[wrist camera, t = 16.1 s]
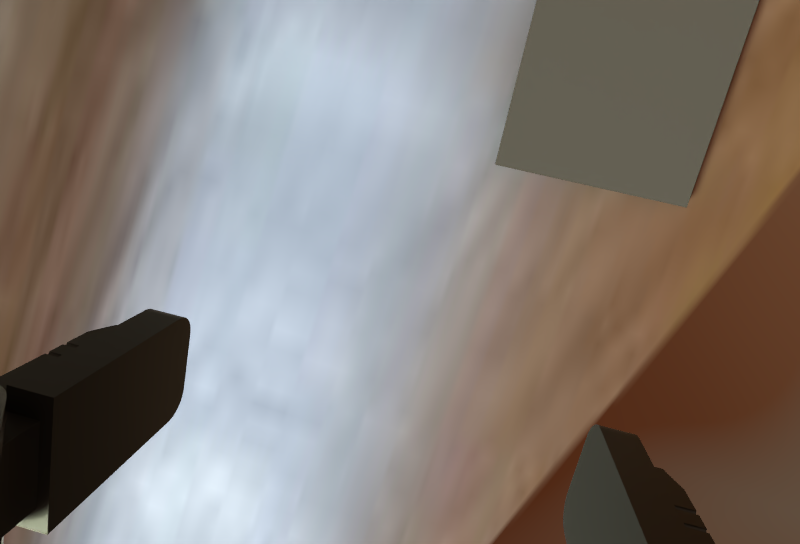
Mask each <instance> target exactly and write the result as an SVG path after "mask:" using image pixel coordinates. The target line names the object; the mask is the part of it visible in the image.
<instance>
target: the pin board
mask: <svg viewBox="0 0 800 544" xmlns="http://www.w3.org/2000/svg"><path fill="white" fill-rule="evenodd" d="M758 3H759V0H537V2H536V6H535V10H534V14H533V18H532V22H531V25H530V29H529V33H528V37H527V41H526V45H525V49H524V53H523V57H522V61H521V65H520V69H519V73H518V77H517V80H516V84H515V88H514V92H513V96H512V100H511V104H510V108H509V112H508V116H507V120H506V124H505V128H504V132H503V136H502V139H501V143H500V147H499V151H498V155H497V159H496V163H495V164H496V165H500V166H504V167H509V168H513V169H517V170H522V171H526V172H531V173H535V174H540V175H544V176H549V177H553V178H558V179H562V180H566V181H571V182H575V183H580V184H584V185H589V186H593V187H598V188H602V189H606V190H611V191H615V192H620V193H624V194H629V195H633V196H638V197H642V198H647V199H651V200H655V201H660V202H664V203H669V204H673V205H678V206H682V207H687V205H688V202H689V199H690V197H691V194H692V191H693V188H694V185H695V182H696V179H697V177H698V174H699V171H700V168H701V165H702V162H703V159H704V157H705V154H706V151H707V148H708V145H709V142H710V140H711V137H712V134H713V131H714V128H715V125H716V122H717V120H718V117H719V114H720V111H721V108H722V105H723V102H724V100H725V97H726V94H727V91H728V88H729V85H730V82H731V80H732V77H733V74H734V71H735V68H736V65H737V63H738V60H739V57H740V54H741V51H742V48H743V45H744V43H745V40H746V37H747V34H748V31H749V28H750V25H751V23H752V20H753V17H754V14H755V11H756V8H757V5H758Z"/></svg>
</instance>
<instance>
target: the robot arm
mask: <svg viewBox="0 0 800 544" xmlns="http://www.w3.org/2000/svg"><path fill="white" fill-rule="evenodd" d="M189 339H190V323H189V320H188V319H187V318H184V317H180V316H176V315H173V314H169V313H165V312H161V311H157V310H153V309H147V310H145V311H143V312H141V313H139V314H137V315H136V316H134V317H132V318H130V319H128V320H126V321H124V322H123V323H121V324H119V325H114V326H110V327H106V328H101V329H97V330H93V331H89V332H86V333H84V334H82V335H81V336H79V337H77V338H75V339H73V340H71V341H69V342H67V344H66V345H61V346H59V347H57V348H55V349H53V350H51V351H49V354H43V355H41V356H40V357H38V358H36V359H34V360H32V361H30V362H28V363H26V364H24V365H22V366H20V367H18V368H16V369H14V370H12V371H10V372H8V373H6V374H4V375H2V376H0V544H3V536H4V535H5V534H7V533H8V532H9V531H10V530H11V529H12V528H14V527H15V526H19V527H23V528H26V529H30V530H33V531H36V532H40V533H43V534H46V535H48V534H49V533H50V532H51V531H52V530H53V529H54V528H55V527H56V526H57V525H58V524H59V523H60V522H62V521H63V520H64V519H65V518H66V517H67V516H68V515H69V514H70V513H71V512H72V511H73V510H74V509H75V508H76V507H78V506H79V505H80V504H81V503H82V502H83V501H84V500H85V499H86V498H87V497H88V496H89V495H90V494H91V493H93V492H94V491H95V490H96V489H97V488H98V487H99V486H100V485H101V484H102V483H103V482H104V481H105V480H106V479H108V478H109V477H110V476H111V475H112V474H113V473H114V472H115V471H116V470H117V469H118V468H119V467H120V466H121V465H123V464H124V463H125V462H126V461H127V460H128V459H129V458H130V457H131V456H132V455H133V454H134V453H135V452H136V451H137V450H139V449H140V448H141V447H142V446H143V445H144V444H145V443H146V442H147V441H148V440H149V439H150V438H151V437H152V436H154V435H155V434H156V433H157V432H158V431H159V430H160V429H161V428H162V427H163V426H164V425H165V424H166V423H167V422H168V421H169V420H170V419H171V418H172V417H173V415H174V414H175V412H176V410H177V408H178V406H179V404H180V401H181V398H182V395H183V390H184V382H185V373H186V365H187V356H188V348H189ZM563 525H564V532H565V537H566V541H567V544H715V543H714V541H713V539H712V537H711V536H710V534H709V533H706V530H707V529H706V527H705V525H704V523H703V522H702V520H701V518H700V516H699V515H696V509H695V508H694V506H693V504H692V503H691V501H690V499H689V497H688V496H687V494H686V492H685V491H684V489H683V488H682V487H681V486H680V485H679V484H678V483H677V482H676V481H674V480H673V479H672V478H671V477H670V476H669V475H668V474H667V473H666V472H665V471H664V470H663V469H661V468H657V467H654V466H653V464H652V462H651V460H650V458H649V456H648V455H647V452H646V450H645V448H644V446H643V445H642V443H641V441H640V439H639V437H638V436H637V435H635V434H631V433H627V432H623V431H619V430H615V429H611V428H608V427H604V426H600V425H594V426H593V427H592V428H591V429H590V431H589V433H588V435H587V438H586V441H585V444H584V447H583V450H582V453H581V456H580V458H579V462H578V464H577V467H576V470H575V473H574V476H573V479H572V482H571V485H570V488H569V490H568V493H567V498H566V501H565V507H564V516H563Z"/></svg>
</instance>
